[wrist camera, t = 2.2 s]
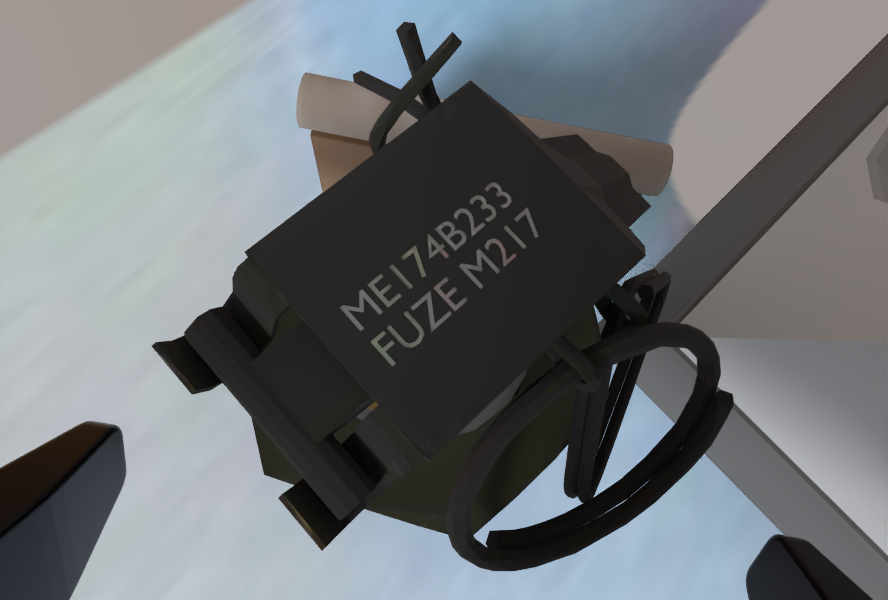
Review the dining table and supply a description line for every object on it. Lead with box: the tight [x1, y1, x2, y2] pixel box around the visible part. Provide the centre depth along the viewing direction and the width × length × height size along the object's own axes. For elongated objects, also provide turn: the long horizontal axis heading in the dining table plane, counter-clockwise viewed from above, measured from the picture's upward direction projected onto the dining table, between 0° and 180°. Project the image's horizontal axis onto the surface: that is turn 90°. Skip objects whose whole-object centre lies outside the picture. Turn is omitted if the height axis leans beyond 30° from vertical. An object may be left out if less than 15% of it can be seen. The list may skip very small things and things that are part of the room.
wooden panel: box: [297, 73, 673, 196], centre depth 17 cm, size 1×8×7 cm, turn 81°
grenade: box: [152, 22, 734, 571], centre depth 12 cm, size 6×6×15 cm
